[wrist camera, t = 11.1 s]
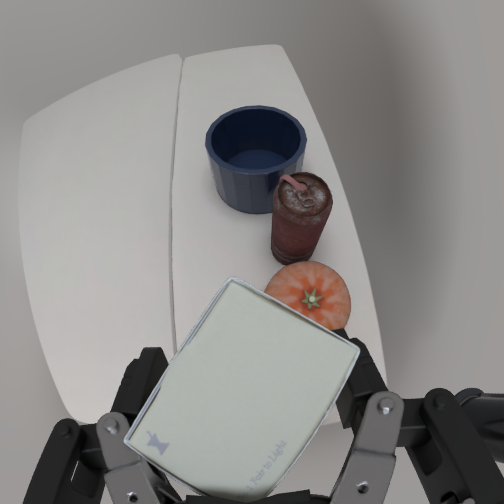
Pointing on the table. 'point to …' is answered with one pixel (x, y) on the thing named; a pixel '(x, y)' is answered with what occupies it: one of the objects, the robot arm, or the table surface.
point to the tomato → (313, 293)
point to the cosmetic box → (242, 395)
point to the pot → (254, 155)
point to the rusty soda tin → (299, 216)
